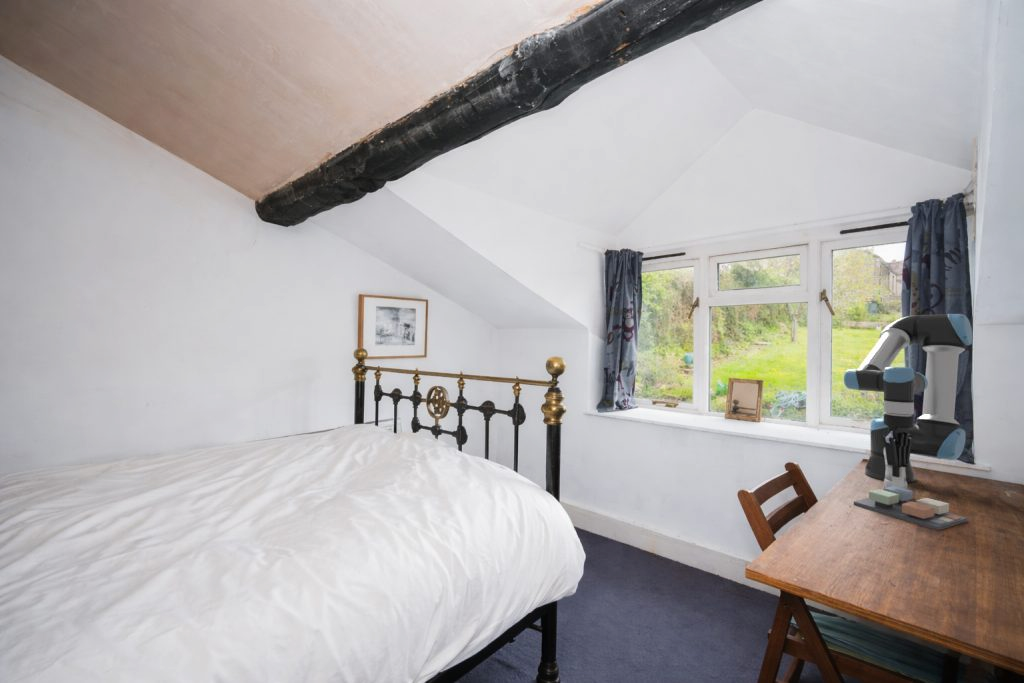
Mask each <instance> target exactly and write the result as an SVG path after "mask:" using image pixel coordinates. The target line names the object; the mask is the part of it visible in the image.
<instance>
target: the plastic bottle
mask: <svg viewBox="0 0 1024 683" xmlns="http://www.w3.org/2000/svg"><path fill="white" fill-rule="evenodd" d="M883 452H884V458H885V465H886V472H885V479H884V480H883V484H882V485H883V489H884V488H886V487H890V486H892V466H890V465H888V464H887V457H886V450H885V448H884V450H883ZM905 468H906V467H904V489H908V490H909V486H908V482H906V473H905Z"/></svg>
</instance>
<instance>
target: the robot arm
mask: <svg viewBox="0 0 1024 683" xmlns="http://www.w3.org/2000/svg"><path fill="white" fill-rule="evenodd" d="M972 329H973V328H972V325H971V323H970V319H969V318H968V317H967V316H966V315H965V314H963V313H941V314H940V313H937V314H913V315H908V316H904V317H901V318H899V319H897V320H895V321H893V322H892V323H890V324H888V325H886V327H885V328H884V329H883V330H882V331H880V332H881V333H880V334H879V337H878V338H879V340H878V342H876V344H875V346H874V347H873V348H872V349H871V351H869V354H867V356H866V357H865V359H864V360H863V362H862V363H861V364H860V366H859V367H858V368H857V369H856V368H852V369H847V370H846V371H845V372H844V375H843V383H844V385H845V387H846V388H847V389H849V390H855V391H864V392H880V393H883V403H882V406H883V412H884V414H883V417H877V418H874V419H872V420H871V422H870V430H869V431H870V455H869V458H868V460H867V462H866V464H865V466H864V467H865V468H864V474H866V476H869V477H870V478H874V479H877V480H881V481H884V479H885V472H886V465H885V458H884V452H883V450H884V448H885V450H886V457H887V464H888V465H890V466H892V486H896V487H900V488H904V467H906V468H905V473H906V482H907V483H913V482H915V481H916V474H915V471H914V468H913V466H912V464H911V460H910V458H911V455H915V456H921V457H922V456H923V457H927V458H933V459H938V460H947V461H955V460H957V459H958V458H960V457H961V455H962V453H963V451H964V448H965V445H966V436H967V434H966V431H965V429H963V428H960V423H959V421H957V420H956V419H955V409H956V399H957V398H956V397H957V396H956V395H957V382H958V372H959V371H958V370H959V355H960V354H962V353H963V352H965V351H966V346H970V345H972V344H973V338H974V337H973V330H972ZM910 345H911V346H912V345H919V346H920V345H921V346H922V349H923V351H924V352H926V367H925V375H924V374H922V372H917V371H915V370H914V369H913V368H912V367H908V366H907V367H906V366H891V365H892V364H893V362H894V361H895V359H896V358H897V356H898V355H899V353H900V352H901V351H902V350H903V349H906V348H907V347H908V346H910ZM922 392H923V402H922V415H920V416H919V417H916V422H915V417H914V416H913V415H914V414H915V399H914V398H915V395H918V394H921V393H922ZM914 422H915V423H914Z"/></svg>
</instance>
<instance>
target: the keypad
mask: <svg viewBox="0 0 1024 683" xmlns="http://www.w3.org/2000/svg"><path fill="white" fill-rule="evenodd" d="M908 502H909V501H908V500H906V501H901V500H899V502H898V503H894V504H890V505H887V504H884V503H880V502H877V501H874V500H870V499H869V497H867V498H862V499H859V500H855V501H854V500H853V505H854V506H858V507H861V508H864V509H868V510H871V511H874V512H876V513H880V514H884V515H887V516H890V517H893V518H896V519H898V520H899V519H900V520H903V521H906V522H910V523H912V524H914V525H915V524H917V525H920V526H922V527H924V528H925V527H926V528H929V529H933V530H935V531H940V530H943V529H946V528H947V529H948V528H950V527H953V526H957V525H960V524H963V523H966V522H968V517H966V516H962V515H958V514H954V513H950V512H946V513H943V514H935V513H934V516H932V517H929V518H925V519H923V518H920V517H916V516H913V515H909V514H906V513H903V512H902V504H904V503H908Z"/></svg>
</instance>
